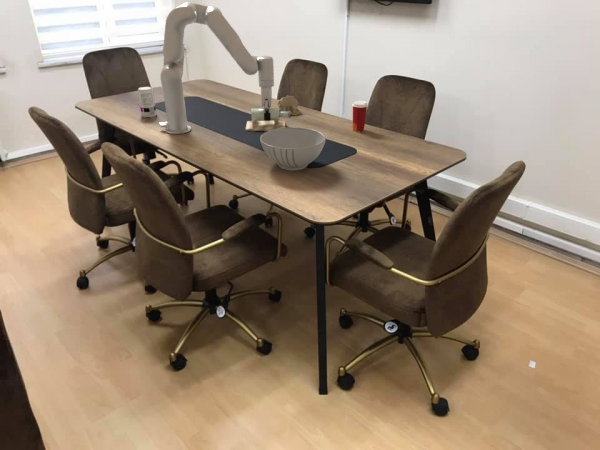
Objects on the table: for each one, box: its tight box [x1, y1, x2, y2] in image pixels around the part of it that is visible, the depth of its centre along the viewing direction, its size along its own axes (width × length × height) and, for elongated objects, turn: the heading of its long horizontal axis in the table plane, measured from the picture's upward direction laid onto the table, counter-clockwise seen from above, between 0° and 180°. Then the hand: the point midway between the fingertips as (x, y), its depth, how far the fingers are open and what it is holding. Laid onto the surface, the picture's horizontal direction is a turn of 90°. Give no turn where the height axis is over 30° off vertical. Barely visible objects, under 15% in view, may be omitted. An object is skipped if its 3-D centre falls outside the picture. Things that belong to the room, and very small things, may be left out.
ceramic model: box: [277, 94, 302, 116], centre depth 260 cm, size 14×11×10 cm
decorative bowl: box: [259, 126, 326, 171], centre depth 193 cm, size 27×27×12 cm
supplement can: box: [137, 86, 158, 118], centre depth 253 cm, size 8×8×15 cm
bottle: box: [250, 107, 291, 121], centre depth 237 cm, size 20×6×6 cm, turn 92°
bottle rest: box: [245, 119, 286, 132], centre depth 239 cm, size 20×13×4 cm, turn 92°
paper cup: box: [351, 100, 369, 133], centre depth 232 cm, size 8×8×14 cm
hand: (267, 118), depth 238 cm, fingers closed on bottle, 6 cm apart
